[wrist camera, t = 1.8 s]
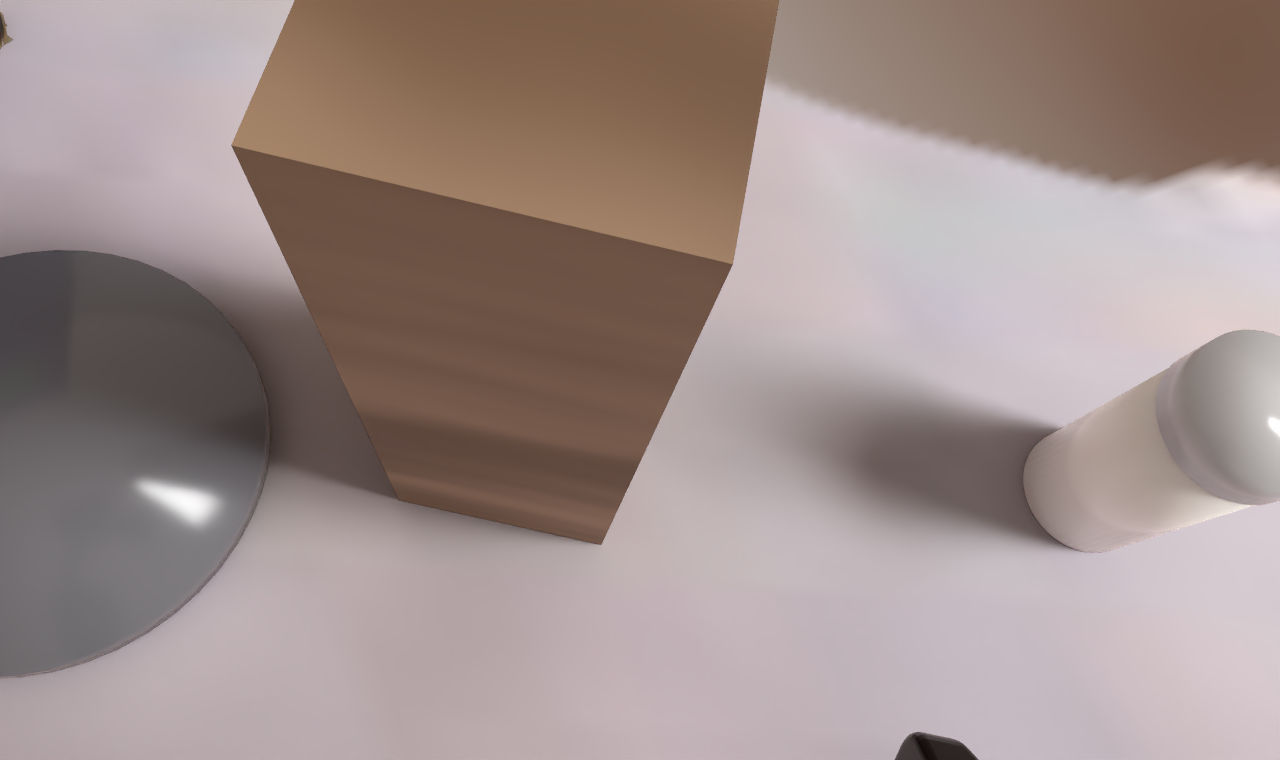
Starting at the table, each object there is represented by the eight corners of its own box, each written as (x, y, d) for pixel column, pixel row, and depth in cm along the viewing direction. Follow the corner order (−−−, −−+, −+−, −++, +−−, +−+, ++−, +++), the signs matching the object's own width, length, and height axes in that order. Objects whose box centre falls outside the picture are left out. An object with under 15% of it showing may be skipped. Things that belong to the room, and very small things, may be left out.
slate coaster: (57, 772, 17) (42, 773, 17) (-310, 517, 18) (-336, 510, 18) (356, 397, 21) (352, 388, 20) (36, 195, 21) (23, 180, 21)
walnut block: (601, 544, 20) (732, 263, 8) (398, 500, 20) (230, 145, 8) (640, 360, 22) (796, -95, 10) (453, 317, 22) (383, -202, 10)
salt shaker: (1119, 580, 22) (1330, 525, 16) (1002, 509, 22) (1170, 431, 16) (1159, 472, 23) (1369, 385, 17) (1048, 405, 23) (1219, 300, 17)
